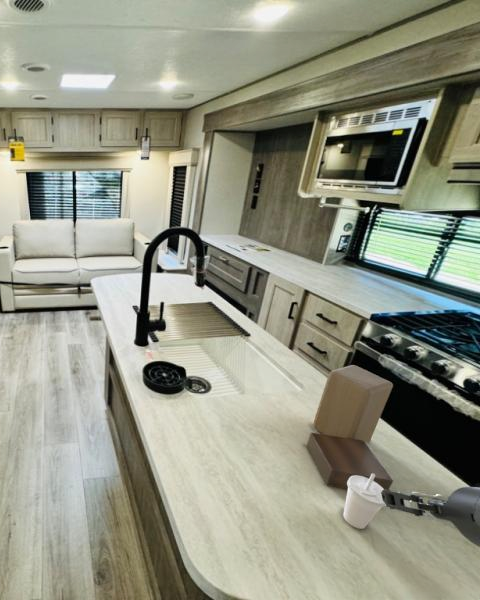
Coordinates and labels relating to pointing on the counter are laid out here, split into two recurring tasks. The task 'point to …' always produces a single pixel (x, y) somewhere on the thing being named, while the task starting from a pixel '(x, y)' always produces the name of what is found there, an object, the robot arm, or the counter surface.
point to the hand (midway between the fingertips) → (415, 502)
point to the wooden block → (351, 403)
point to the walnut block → (345, 460)
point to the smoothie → (362, 500)
